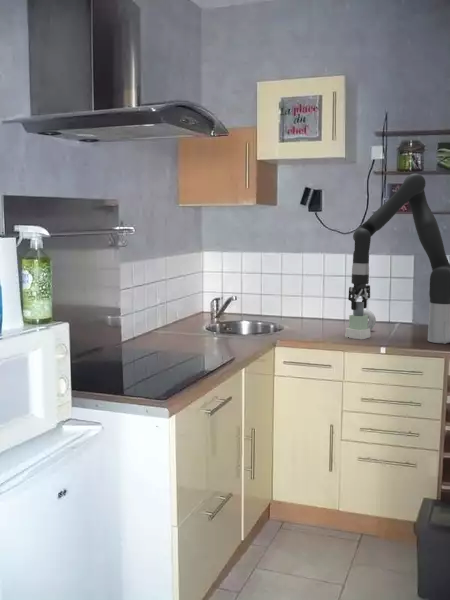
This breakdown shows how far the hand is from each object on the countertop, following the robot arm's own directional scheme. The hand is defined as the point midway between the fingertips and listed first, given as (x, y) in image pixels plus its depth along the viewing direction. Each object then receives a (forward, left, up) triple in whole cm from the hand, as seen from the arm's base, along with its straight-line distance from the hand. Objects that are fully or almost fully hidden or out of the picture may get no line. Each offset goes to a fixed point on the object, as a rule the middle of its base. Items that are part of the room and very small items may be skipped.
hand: (358, 309), depth 293 cm
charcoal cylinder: (0, 0, -3) cm, 3 cm away
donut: (+7, -18, -13) cm, 23 cm away
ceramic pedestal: (0, 0, -13) cm, 13 cm away
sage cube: (0, 0, -9) cm, 9 cm away
